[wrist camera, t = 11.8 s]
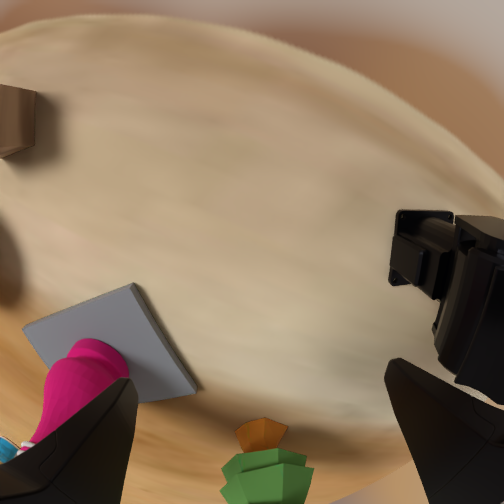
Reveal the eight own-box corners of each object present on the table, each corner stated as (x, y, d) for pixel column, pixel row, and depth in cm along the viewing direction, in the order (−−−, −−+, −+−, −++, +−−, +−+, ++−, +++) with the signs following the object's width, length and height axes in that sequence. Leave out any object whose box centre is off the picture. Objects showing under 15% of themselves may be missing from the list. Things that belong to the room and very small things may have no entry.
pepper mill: (68, 370, 23) (-7, 518, 4) (70, 320, 21) (-43, 494, 2) (128, 398, 24) (81, 566, 5) (140, 353, 22) (72, 568, 3)
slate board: (133, 282, 21) (129, 287, 20) (197, 386, 25) (196, 393, 24) (26, 324, 22) (21, 329, 21) (85, 403, 26) (82, 408, 25)
